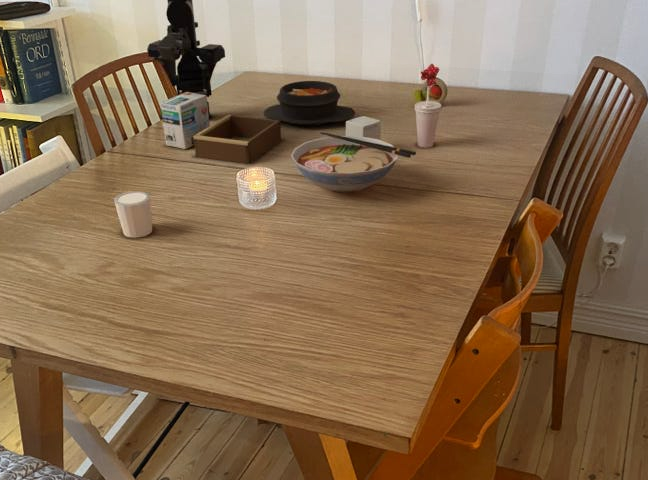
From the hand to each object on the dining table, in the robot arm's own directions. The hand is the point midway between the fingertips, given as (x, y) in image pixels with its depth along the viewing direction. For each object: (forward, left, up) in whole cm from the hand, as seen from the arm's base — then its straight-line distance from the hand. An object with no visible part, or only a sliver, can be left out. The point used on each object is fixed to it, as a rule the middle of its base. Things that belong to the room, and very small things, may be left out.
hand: (190, 87), depth 181 cm
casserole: (+21, +24, -13) cm, 34 cm away
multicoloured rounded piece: (+48, +47, -13) cm, 68 cm away
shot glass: (+17, -51, -13) cm, 56 cm away
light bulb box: (-1, -2, -13) cm, 13 cm away
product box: (+43, +6, -13) cm, 46 cm away
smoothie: (+56, +15, -13) cm, 60 cm away
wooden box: (+14, -2, -13) cm, 19 cm away
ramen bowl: (+47, -16, -13) cm, 52 cm away
